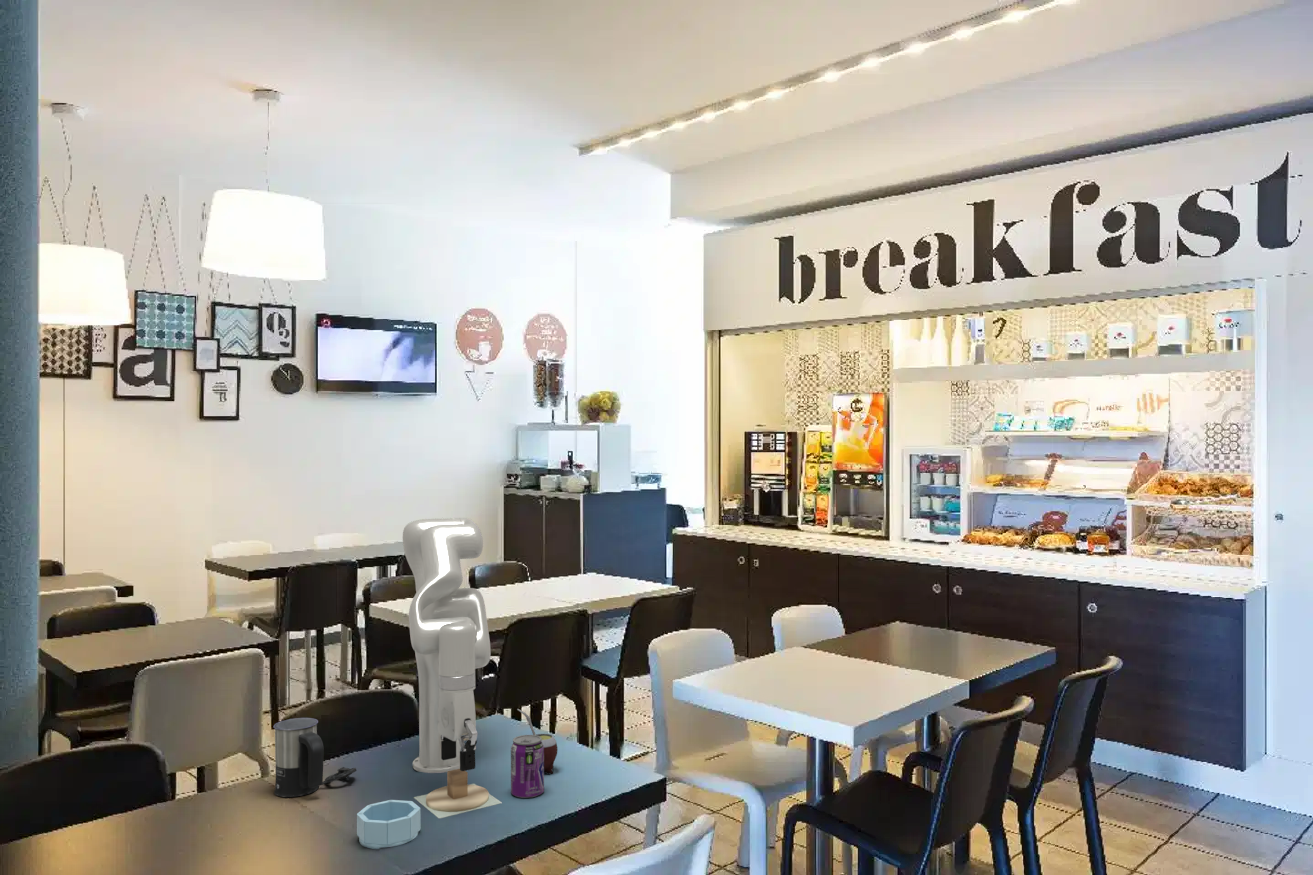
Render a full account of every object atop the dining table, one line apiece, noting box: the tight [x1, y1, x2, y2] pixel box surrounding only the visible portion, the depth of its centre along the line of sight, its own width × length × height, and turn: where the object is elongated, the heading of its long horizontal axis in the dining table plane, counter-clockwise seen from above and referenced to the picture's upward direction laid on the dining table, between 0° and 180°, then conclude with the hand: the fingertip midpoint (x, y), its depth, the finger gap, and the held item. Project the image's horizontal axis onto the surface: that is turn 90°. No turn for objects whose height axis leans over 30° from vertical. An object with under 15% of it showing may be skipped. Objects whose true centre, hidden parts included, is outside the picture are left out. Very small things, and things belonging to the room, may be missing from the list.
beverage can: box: [510, 734, 545, 799], centre depth 204 cm, size 7×7×12 cm
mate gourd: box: [516, 708, 558, 775], centre depth 218 cm, size 8×8×15 cm
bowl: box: [356, 799, 422, 850], centre depth 182 cm, size 11×11×5 cm
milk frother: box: [273, 717, 357, 798], centre depth 209 cm, size 14×16×15 cm
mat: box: [413, 783, 503, 820], centre depth 200 cm, size 14×14×1 cm
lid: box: [426, 769, 490, 812], centre depth 200 cm, size 13×13×6 cm
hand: (458, 764), depth 199 cm, fingers open, 9 cm apart
